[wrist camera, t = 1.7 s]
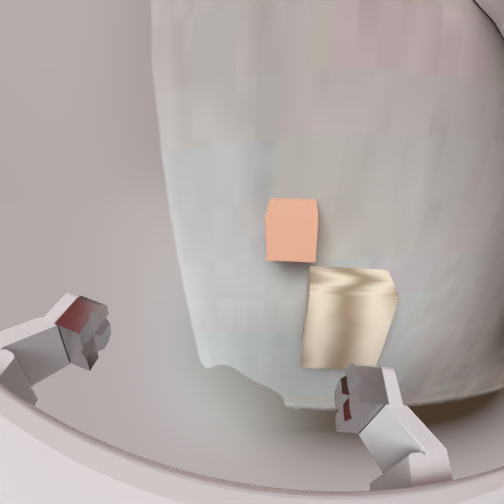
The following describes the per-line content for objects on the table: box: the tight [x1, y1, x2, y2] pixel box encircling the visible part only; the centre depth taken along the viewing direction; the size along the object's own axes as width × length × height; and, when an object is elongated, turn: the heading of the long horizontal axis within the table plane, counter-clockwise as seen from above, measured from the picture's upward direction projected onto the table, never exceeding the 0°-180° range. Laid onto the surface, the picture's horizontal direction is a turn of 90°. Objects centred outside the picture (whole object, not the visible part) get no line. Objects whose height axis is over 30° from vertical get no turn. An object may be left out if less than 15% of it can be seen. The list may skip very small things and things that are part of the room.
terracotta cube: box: [265, 198, 318, 262], centre depth 32 cm, size 5×5×5 cm
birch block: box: [301, 266, 399, 369], centre depth 36 cm, size 10×12×6 cm
